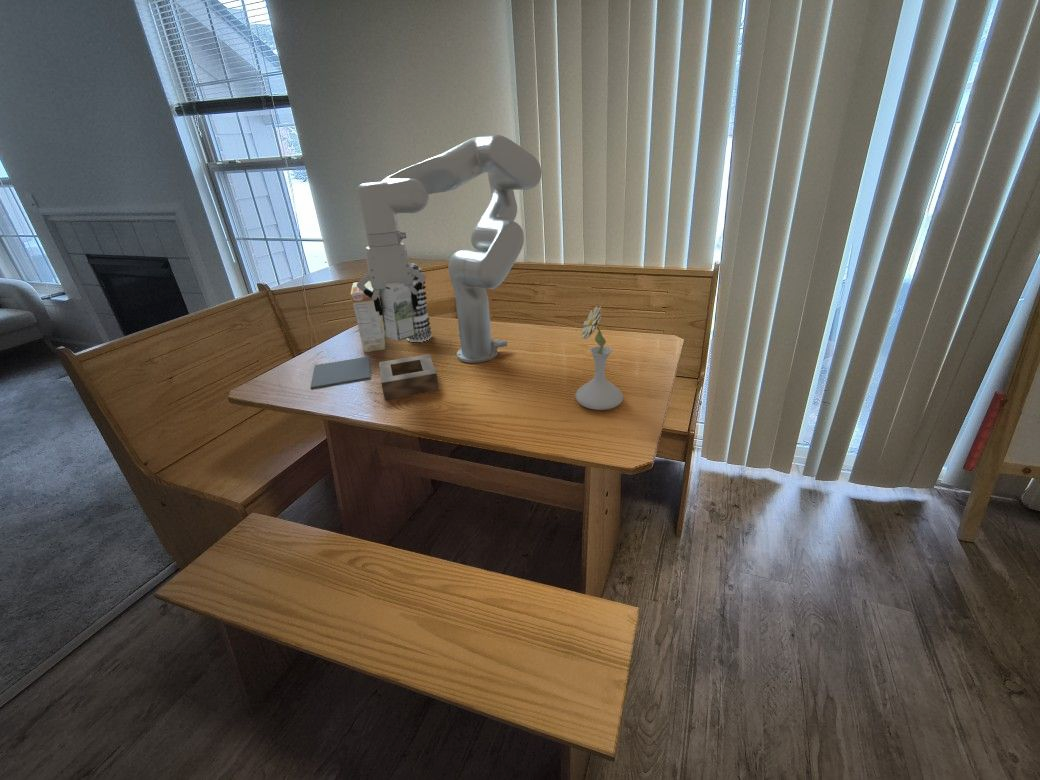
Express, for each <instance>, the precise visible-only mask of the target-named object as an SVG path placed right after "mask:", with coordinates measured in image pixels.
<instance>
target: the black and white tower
mask: <svg viewBox="0 0 1040 780" xmlns="http://www.w3.org/2000/svg"><path fill="white" fill-rule="evenodd" d="M410 265H411V268H413V269H415V270H417V271H419V272H421V273H422V268H421V267H419V265H418V264H417V263H411V262H410ZM412 275H413V274H412ZM418 280H419V277H417V276H415V275H413V284H412V285H413V286H415V284H416V283H417V282H418ZM424 284H426V281H424V283H423V285H422V287H421V288H420V290H419V291H418V293H417V300H418V306H416V309H417V310H413V315H414V324H415V332H416V335H414V336H412V337H409V338H406V340H408V341H410V342H409V343H411V342H421V343H424V342H423V341H425V342H427V341H426V340H428V341H429V339H430V338H431V337H432V331H431V329H432V327H431V326H430V324H431V323H430V318H429V312H428V311H427V306H428V302H427V301H426V300H427V299H428V298H427V296H426V295H427V292H426V291H424V290H425V289H426V288H427V287H426V285H424ZM432 338H433V337H432ZM432 338H431V339H432ZM431 339H430V340H431ZM408 341H407V342H408Z"/></svg>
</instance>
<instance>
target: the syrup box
mask: <svg viewBox="0 0 1040 780" xmlns="http://www.w3.org/2000/svg"><path fill="white" fill-rule="evenodd" d="M378 298H379V300H380V305H381V310H382V315H381V318H382V325H383V330H384V334H385V338H388V339H392V340H395V341H402V340H405V339H406V340H407V338H409V337H412V336H414V335H416V332H415V324H414V315H413V306H412V298H411V291H410V290H409V287H408V286H404V284H403V283H402V284H401V283H386V286H385V289H384V290H380V292H379V294H378Z"/></svg>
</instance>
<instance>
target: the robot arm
mask: <svg viewBox="0 0 1040 780" xmlns="http://www.w3.org/2000/svg"><path fill="white" fill-rule="evenodd" d="M485 173H487V178H488V183H489V189H490V201H489V203H488V205H487V207H486V208H485V210H484V211H483V214H482V215H481V217H480V219H479V220H478V221H477V224H476V225H475V226H474V228H473V230H472V232H471V235H470V242H471V246H472V247H473V248H474V250H473V249H460V250H457V251H456V252H454V253H453V254H452V255H451V257H449V261H448V265H447V266H448V267H447V268H448V274H449V277H450V281H451V284H452V288H453V293H454V297H455V298H454V300H455V306H456V315H457V316H456V317H457V323H458V332H459V333H458V334H459V340H460V343H459V344H460V349H458V351H456V358H457V359H458V360H459V361H461V362H464V363H470V364H478V363H485V362H489V361H491V360H493V359H495V358H496V357H497V355H498V348H504V347H505V348H506V347H508V341H507V340H502V339H501V338H497V339H493V338H492V327H491V317H490V305H489V304H490V303H489V296H488V292H487V290H492V289H493V290H494V289H496V288H498V287H499V286H501V284H503V282H505V279H506V277H508V274H509V273H510V271H511V269H512V268H513V266H514V264H515V262H516V261H517V259H518V258H519V255H520V254H521V252H522V249H523V246H524V242H525V241H524V240H525V239H524V238H525V237H524V229H522V227H521V225H520V224H519V223H518V222H516V221H515V219H516V217H517V214H518V204H517V200H516V196H515V192H514V191H515V190H517V191H518V190H520V191H528V190H532V189H535V188H536V186H538V185H539V183H540V182H541V179H542V167H541V164H540V162H539V160H538V159H537V158H536V156H535V155H533V154H532V153H530V152H529V151H527V150H526V149H525V148H523V147H522V146H520V145H519V144H517V143H516V142H515V141H513V140H512V139H509V138H508V137H506V136H504V135H501V134H489V135H481V136H480V135H478V136H474V137H472V138H469V139H468V140H466V141H464V142H462V143H460V144H457V145H456V146H454V147H452V148H450V149H449V150H447V151H444V152H442V153H440V154H438V155H435V156H433V157H430V158H428V159H425V160H423V161H421V162H418V163H416V164H415V163H414V164H412V165H411V166H408V167H405V168H403V169H401V170H398V171H397V172H395V173H393V174H391V175H388V176H387V177H385V178H383V179H382V180H381V181H373V182H364V183H361V184H359V185H358V186H357V197H358V202H359V206H360V207H359V208H360V211H361V215H362V221H363V226H364V230H365V235H366V241H367V246H366V247H365V257H366V264H367V265H366V266H367V271H368V273H366V274H365V275H364V276H363V277H362V278H361V279H360V280H358V281H357V282H358V283H357V287H358V288H359V289H360V290H361V291H362V292H363V293H364V294H365V295H367V296H368V297H370V298H371V299H372V300H373V301H374V305H375V310H376V312H379V315H380V316H381V317H382V310H381V304H380V297H379V292H380V290H384V289H385V286H386V283H401V284H402V283H403V284H404V286H408V287H409V290H410V291H411V298H412V306H413V310H417V309H416V306H418V300H417V293H418V291H419V290H420V288H421V287H422V285H424V284H423V283H424V281H425V280H426V279H427V275H426V274H424V273H422V271H421V272H419V271H417V270H415V269H413V268H411V265H410V263H411V262H410V258H409V255H408V250H407V248H406V245H405V243H404V242H402V241H403V240H404V239H407V234H406V233H407V232H404V231H403V232H402V231H400V229H399V223H398V218H397V214H416V213H417V214H418V213H419V212H421V211H423V210H424V209H425V208H426V207H427V205H428V202H429V199H430V198H429V195H432V194H439V193H444V192H449V191H453V190H456V189H458V188H460V187H461V186H463V185H465V184H467V183H468V182H470V181H472V180H474V179H475V178H477V177H479V176H481V175H482V174H485ZM412 274H413V275H415V276H417V277H419V280H418V282H417V283H416V284H415V286H413V285H412V284H413V275H412ZM368 281H370V282H371V286H372V288H373V292H372V291H370V290H369V289H367V288H366V287H365V286H364V285H365V284H366V283H367V282H368ZM425 282H426V281H425Z"/></svg>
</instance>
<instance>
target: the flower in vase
mask: <svg viewBox="0 0 1040 780" xmlns="http://www.w3.org/2000/svg"><path fill="white" fill-rule="evenodd" d="M588 313H589V315H588V317H587V319H586V320H585V321H584V322H583V326H584V327H583V328H582V330H581V331H580V335H582V336H581V339H584V340H585V339H586V340H587V339H589V338H590V337H591V336H592V335H593V333H594V332H595V330H597V331H598V332H597V333H596V335H595V338H594V341H595V342H596V343H597V344H598V345H597V346H592V347H591V348H590V349H589V352H590V353H591V355H592V357H593V359H594V368H595V369H594V377H593V379H591V380H590V381H588V382H586V383H585V384H583V385H582V386H581V387H580V388H578V389H577V391H576V392H575V396H574V398H575V399H576V401H577V402H578V403H579V404H580V405H581V406H582V407H585V408H587V409H589V410H595V411H596V410H597V411H601V410H602V411H603V410H604V411H605V410H610V409H613V408H616V407H618V406H619V405H620V404H622V402H623V400H624V394H623V393H622V391H621V390H620V389H619V388H618V387H617V386H616V385H615V384H613V383H612V382H610V381H608V380H607V378H606V374H605V373H606V363H607V360H608V357H609V356H610V354H611V353H612V352H613V350H612V348H611V347H609V346H605V344H606V342H607V341H606V339H605V338H604V336H603V335H602V334H603V333H602V332H601V329H600V327H599V324H600V321H601V320H602V314H603V308H602V306H601V305H600V306H599V307H598V305H596V306H595V307H594V308H593V310H590V311H589V312H588Z"/></svg>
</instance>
